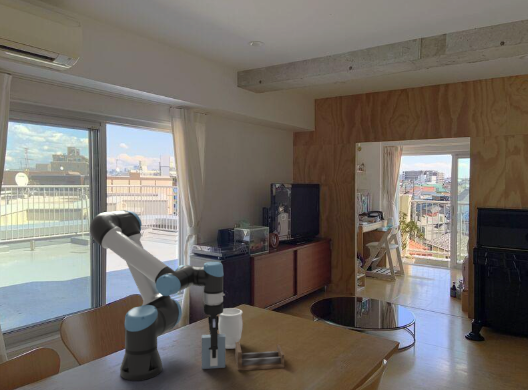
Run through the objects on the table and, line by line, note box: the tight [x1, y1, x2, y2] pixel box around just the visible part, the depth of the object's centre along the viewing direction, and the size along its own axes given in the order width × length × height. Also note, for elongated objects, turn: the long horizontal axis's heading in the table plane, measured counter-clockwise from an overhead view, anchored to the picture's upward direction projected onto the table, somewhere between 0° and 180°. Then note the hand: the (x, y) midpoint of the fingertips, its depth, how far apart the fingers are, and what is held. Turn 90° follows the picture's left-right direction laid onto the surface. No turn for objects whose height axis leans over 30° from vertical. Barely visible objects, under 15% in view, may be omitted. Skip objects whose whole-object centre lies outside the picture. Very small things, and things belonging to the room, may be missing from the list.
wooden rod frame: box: [234, 341, 285, 372], centre depth 156 cm, size 18×10×7 cm, turn 99°
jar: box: [218, 307, 243, 350], centre depth 173 cm, size 11×10×15 cm
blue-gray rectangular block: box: [201, 333, 226, 370], centre depth 153 cm, size 9×3×12 cm, turn 99°
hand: (213, 359), depth 153 cm, fingers open, 10 cm apart
